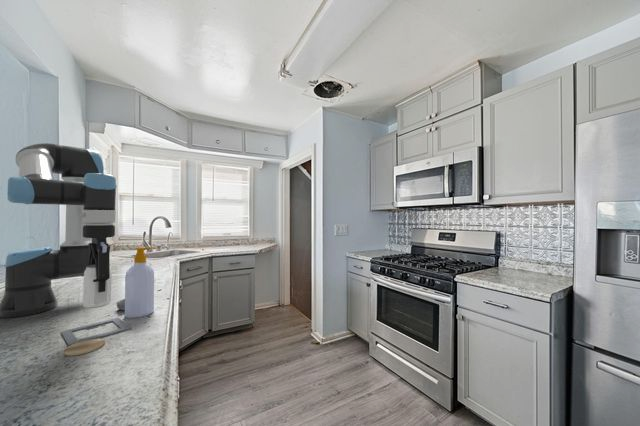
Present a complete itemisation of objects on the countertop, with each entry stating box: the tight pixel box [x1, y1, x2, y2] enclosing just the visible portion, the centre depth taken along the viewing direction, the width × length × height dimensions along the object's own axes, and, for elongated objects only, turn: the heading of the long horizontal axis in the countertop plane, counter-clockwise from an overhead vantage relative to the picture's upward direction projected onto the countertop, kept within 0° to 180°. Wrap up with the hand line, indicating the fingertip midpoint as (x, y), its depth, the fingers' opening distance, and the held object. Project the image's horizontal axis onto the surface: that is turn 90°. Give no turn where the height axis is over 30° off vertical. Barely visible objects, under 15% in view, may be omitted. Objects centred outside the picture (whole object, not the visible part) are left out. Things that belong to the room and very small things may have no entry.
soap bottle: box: [124, 246, 157, 319], centre depth 94 cm, size 9×9×24 cm
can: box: [82, 263, 113, 309], centre depth 79 cm, size 6×6×12 cm
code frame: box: [60, 317, 133, 347], centre depth 79 cm, size 14×14×1 cm
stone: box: [116, 298, 125, 312], centre depth 100 cm, size 10×8×6 cm
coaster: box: [63, 338, 106, 357], centre depth 68 cm, size 8×8×1 cm
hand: (97, 299), depth 79 cm, fingers closed on can, 6 cm apart
